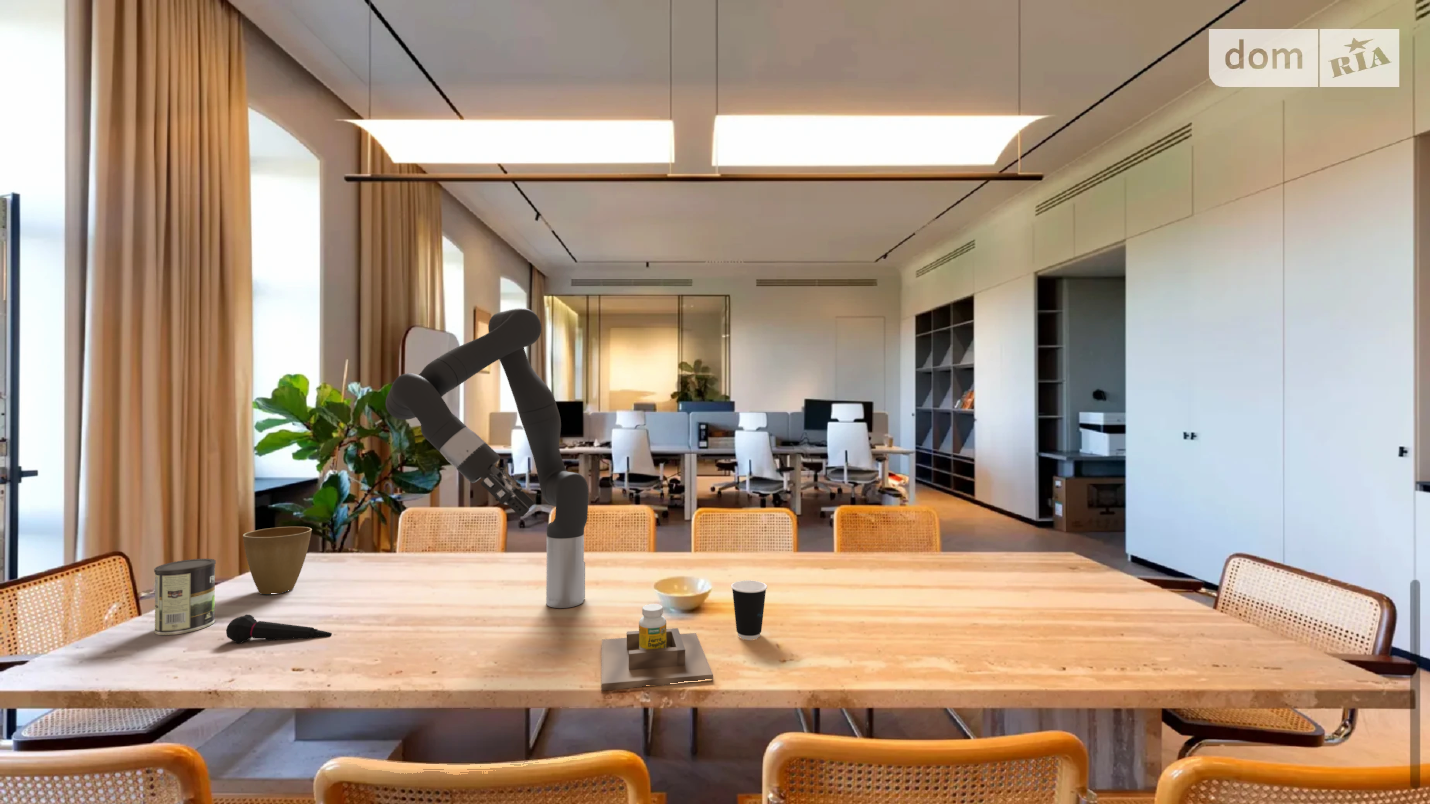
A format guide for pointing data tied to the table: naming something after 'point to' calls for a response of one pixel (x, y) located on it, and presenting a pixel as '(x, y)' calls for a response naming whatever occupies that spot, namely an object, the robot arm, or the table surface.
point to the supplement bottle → (652, 627)
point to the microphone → (268, 630)
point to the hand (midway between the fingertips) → (528, 509)
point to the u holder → (652, 661)
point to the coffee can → (184, 596)
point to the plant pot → (276, 557)
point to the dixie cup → (749, 607)
